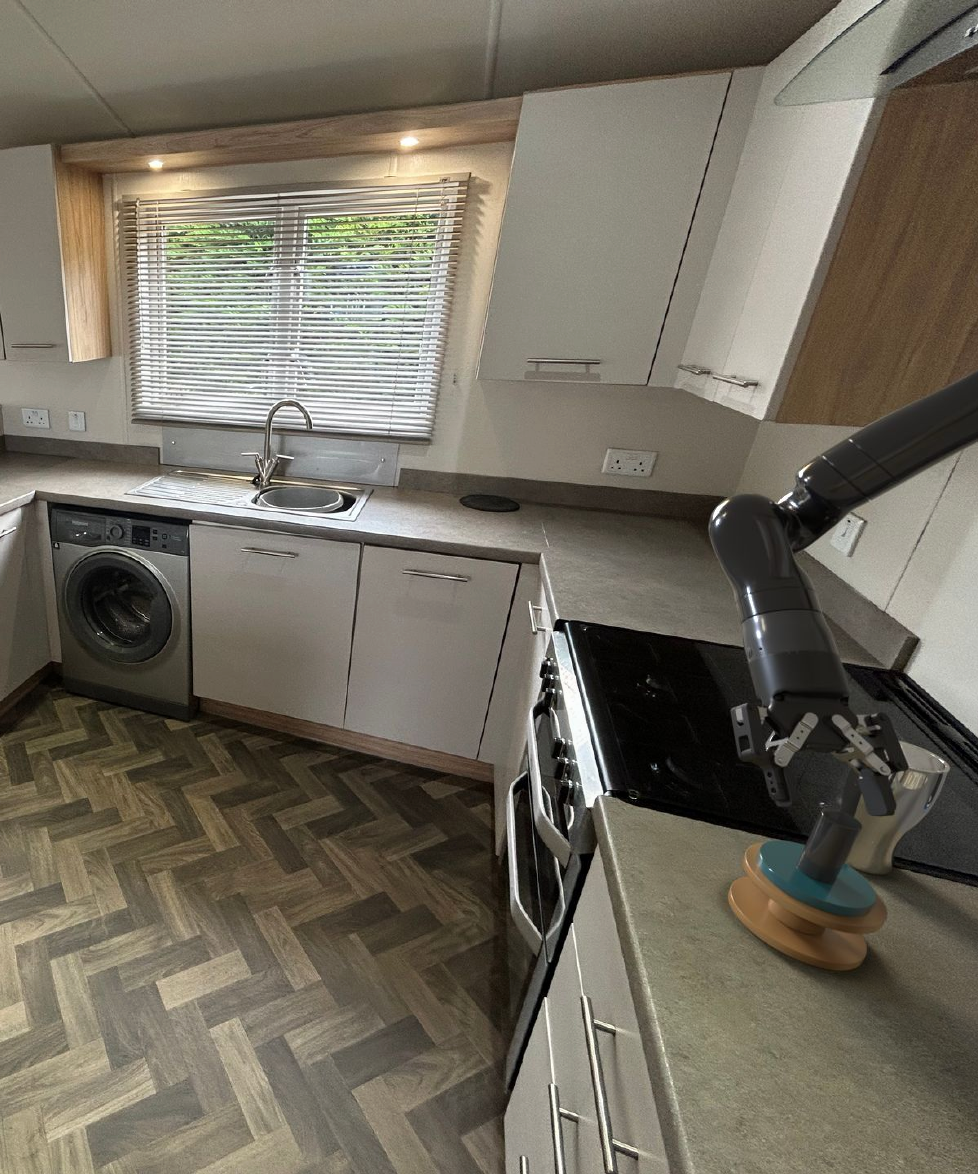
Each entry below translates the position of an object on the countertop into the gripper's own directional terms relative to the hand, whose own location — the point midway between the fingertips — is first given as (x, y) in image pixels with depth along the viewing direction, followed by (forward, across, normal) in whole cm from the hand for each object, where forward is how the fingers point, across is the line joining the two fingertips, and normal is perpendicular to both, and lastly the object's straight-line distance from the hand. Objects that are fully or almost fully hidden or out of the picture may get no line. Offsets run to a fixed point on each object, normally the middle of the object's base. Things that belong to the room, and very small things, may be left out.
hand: (835, 811), depth 64 cm
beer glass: (+3, +15, +18) cm, 23 cm away
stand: (+11, 0, +9) cm, 14 cm away
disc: (+6, 0, +5) cm, 8 cm away
